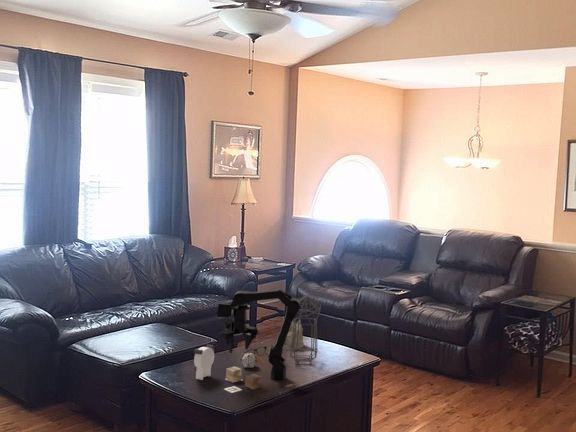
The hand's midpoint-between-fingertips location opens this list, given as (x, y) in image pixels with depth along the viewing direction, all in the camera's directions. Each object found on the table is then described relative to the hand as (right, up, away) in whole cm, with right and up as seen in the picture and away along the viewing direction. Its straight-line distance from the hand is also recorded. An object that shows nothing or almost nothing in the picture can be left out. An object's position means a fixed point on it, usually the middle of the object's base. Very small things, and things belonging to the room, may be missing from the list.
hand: (238, 351), depth 288 cm
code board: (0, -14, -11) cm, 18 cm away
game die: (+4, -12, +16) cm, 20 cm away
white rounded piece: (-16, -13, -1) cm, 21 cm away
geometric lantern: (+31, -12, +27) cm, 43 cm away
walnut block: (+7, -14, -12) cm, 20 cm away
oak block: (-2, -12, -3) cm, 13 cm away
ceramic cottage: (+24, -10, +58) cm, 64 cm away
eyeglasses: (+11, -12, +33) cm, 37 cm away
